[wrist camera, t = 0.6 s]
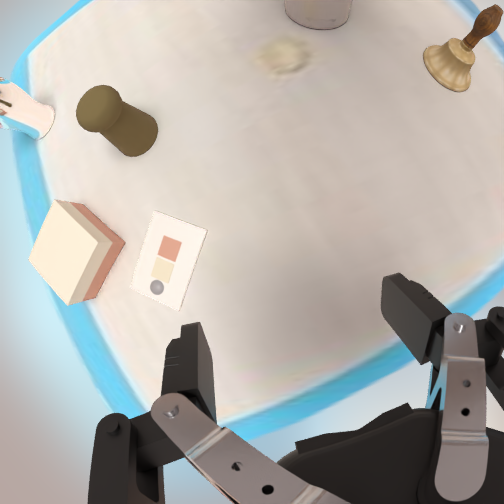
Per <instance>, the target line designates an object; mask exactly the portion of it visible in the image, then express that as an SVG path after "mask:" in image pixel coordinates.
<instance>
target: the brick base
mask: <svg viewBox="0 0 504 504" xmlns="http://www.w3.org/2000/svg"><path fill="white" fill-rule="evenodd" d="M124 244H125V242H124V241H123V240H122V239H121V238H120V237H119V236H117V235H116V234H115V233H114V232H113V231H112V230H111V229H109V228H108V227H107V226H106V225H105V224H104V223H103V222H102V221H101V220H99V219H98V218H97V217H96V216H95V215H94V214H93V213H92V212H91V211H89V210H88V209H87V208H86V207H85V206H84V205H83V204H78V203H72V202H67V201H61V200H54V202H53V204H52V206H51V208H50V210H49V212H48V214H47V216H46V218H45V221H44V223H43V225H42V227H41V230H40V232H39V234H38V237H37V239H36V241H35V244H34V246H33V249H32V251H31V254H30V257H29V261H30V262H31V264H32V265H33V266H34V268H35V269H36V270H37V271H38V272H39V274H40V275H41V276H42V277H43V278H44V280H45V281H46V282H47V283H48V284H49V285H50V287H51V288H52V289H53V290H54V291H55V292H56V293H57V295H58V296H59V297H60V298H61V299H62V300H63V301H64V302H65V303H66V304H67V306H68V305H72V304H75V303H79V302H82V301H86V300H89V299H93V298H95V297H96V295H97V293H98V291H99V289H100V287H101V286H102V284H103V282H104V280H105V278H106V276H107V274H108V272H109V271H110V269H111V267H112V265H113V263H114V262H115V260H116V258H117V256H118V254H119V253H120V251H121V249H122V247H123V246H124Z"/></svg>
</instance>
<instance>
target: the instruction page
mask: <svg viewBox="0 0 504 504" xmlns="http://www.w3.org/2000/svg"><path fill="white" fill-rule="evenodd" d="M207 231H208V230H205V229H202V228H200V227H197V226H195V225H192V224H189V223H187V222H184V221H181V220H179V219H176V218H173V217H171V216H168V215H165V214H163V213H160V212H157V211H154V213H153V216H152V219H151V221H150V224H149V227H148V230H147V233H146V236H145V239H144V242H143V246H142V249H141V252H140V255H139V258H138V262H137V265H136V268H135V272H134V275H133V279H132V282H131V286H130V288H131V289H133V290H135V291H137V292H139V293H141V294H143V295H145V296H147V297H149V298H151V299H153V300H156V301H158V302H160V303H162V304H164V305H166V306H168V307H171V308H173V309H175V310H177V311H180V309H181V306H182V303H183V300H184V297H185V294H186V291H187V288H188V285H189V282H190V279H191V276H192V273H193V270H194V267H195V264H196V261H197V259H198V256H199V253H200V250H201V247H202V245H203V242H204V239H205V236H206V233H207Z"/></svg>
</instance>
